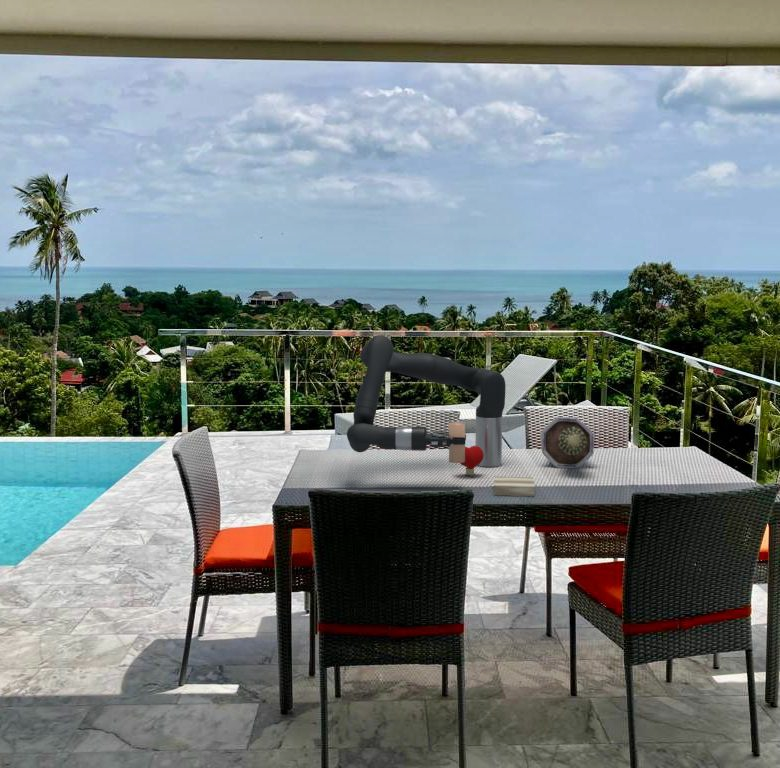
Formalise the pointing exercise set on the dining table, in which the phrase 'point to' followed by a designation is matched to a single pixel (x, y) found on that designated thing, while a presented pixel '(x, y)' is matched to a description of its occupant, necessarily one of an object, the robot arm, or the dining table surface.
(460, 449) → the tall pink cylinder
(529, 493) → the base slab
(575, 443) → the potted plant
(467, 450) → the red heart
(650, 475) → the dining table surface
